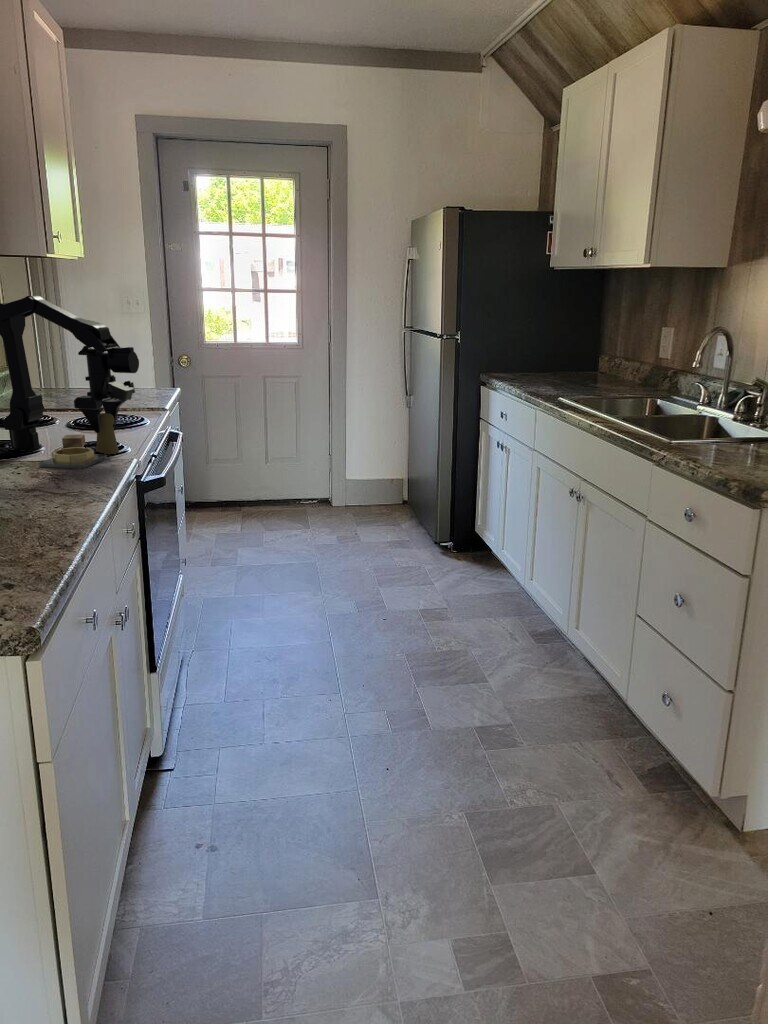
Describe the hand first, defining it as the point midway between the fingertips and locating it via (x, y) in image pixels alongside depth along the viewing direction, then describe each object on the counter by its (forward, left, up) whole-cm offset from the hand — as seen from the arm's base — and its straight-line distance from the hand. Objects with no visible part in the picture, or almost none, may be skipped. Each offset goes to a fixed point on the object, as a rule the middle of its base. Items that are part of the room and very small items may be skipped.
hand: (105, 429), depth 209 cm
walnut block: (-11, +2, -7) cm, 13 cm away
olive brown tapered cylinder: (0, 0, -7) cm, 7 cm away
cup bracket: (-3, -12, -6) cm, 14 cm away
